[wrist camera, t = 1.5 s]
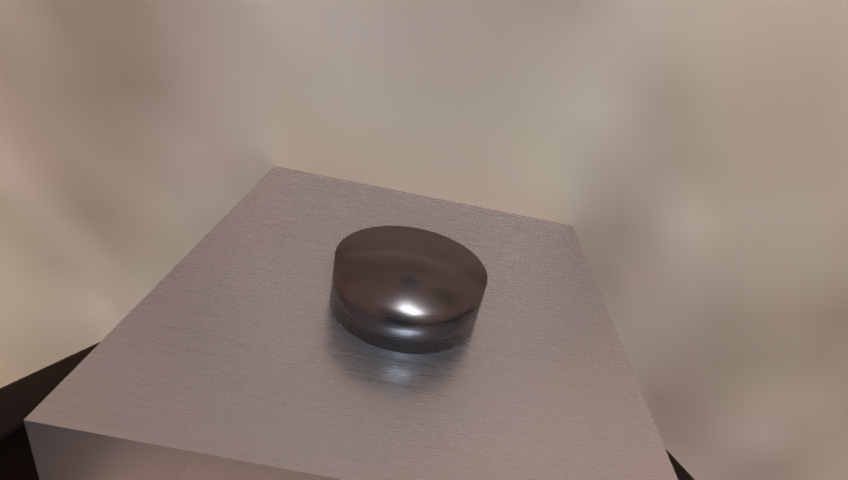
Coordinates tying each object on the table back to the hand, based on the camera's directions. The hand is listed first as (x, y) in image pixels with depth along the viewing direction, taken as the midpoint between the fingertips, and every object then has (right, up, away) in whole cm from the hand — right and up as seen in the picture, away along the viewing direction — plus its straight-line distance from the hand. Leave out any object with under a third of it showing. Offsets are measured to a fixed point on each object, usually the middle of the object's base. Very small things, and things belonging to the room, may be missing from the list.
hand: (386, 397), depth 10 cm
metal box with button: (0, +1, +1) cm, 2 cm away
